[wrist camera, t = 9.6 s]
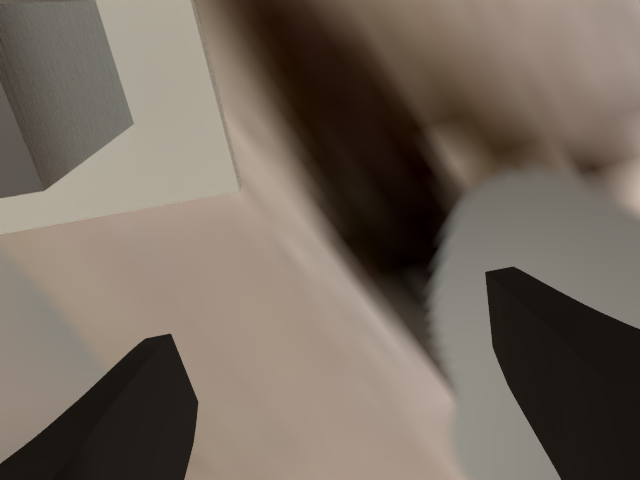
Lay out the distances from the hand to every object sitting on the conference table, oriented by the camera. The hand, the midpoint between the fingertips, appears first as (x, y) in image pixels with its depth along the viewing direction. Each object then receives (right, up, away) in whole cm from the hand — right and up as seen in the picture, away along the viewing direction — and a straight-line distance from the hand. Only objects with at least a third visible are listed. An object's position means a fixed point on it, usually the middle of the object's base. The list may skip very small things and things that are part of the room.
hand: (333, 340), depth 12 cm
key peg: (-9, +8, +6) cm, 13 cm away
